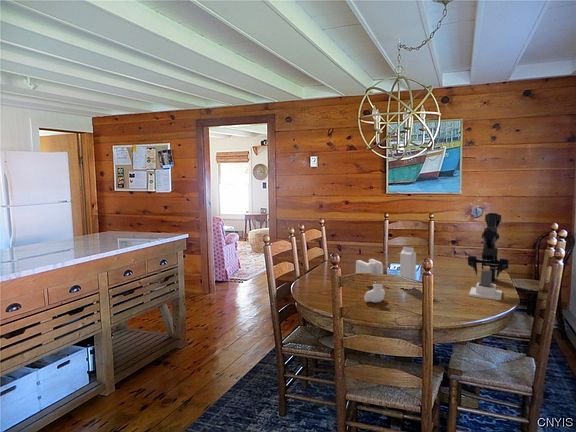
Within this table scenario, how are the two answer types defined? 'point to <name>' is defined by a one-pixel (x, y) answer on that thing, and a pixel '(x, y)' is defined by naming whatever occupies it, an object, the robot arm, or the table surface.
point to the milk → (408, 263)
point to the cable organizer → (369, 267)
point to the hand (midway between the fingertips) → (486, 276)
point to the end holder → (486, 292)
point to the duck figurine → (375, 294)
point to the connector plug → (486, 276)
